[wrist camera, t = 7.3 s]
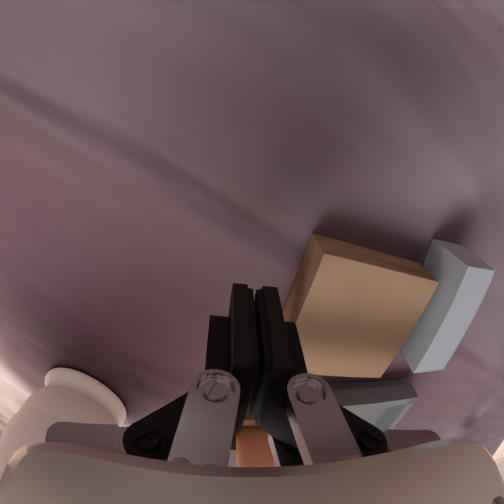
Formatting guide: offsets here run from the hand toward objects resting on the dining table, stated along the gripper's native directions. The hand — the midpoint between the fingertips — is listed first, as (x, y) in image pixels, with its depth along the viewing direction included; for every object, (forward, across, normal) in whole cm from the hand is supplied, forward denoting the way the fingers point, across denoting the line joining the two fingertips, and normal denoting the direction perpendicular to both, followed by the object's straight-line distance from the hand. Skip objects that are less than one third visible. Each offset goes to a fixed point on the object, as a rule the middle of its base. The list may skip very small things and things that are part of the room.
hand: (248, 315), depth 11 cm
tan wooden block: (+6, -7, +3) cm, 10 cm away
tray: (+5, -12, +16) cm, 20 cm away
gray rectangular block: (+5, -13, +2) cm, 14 cm away
